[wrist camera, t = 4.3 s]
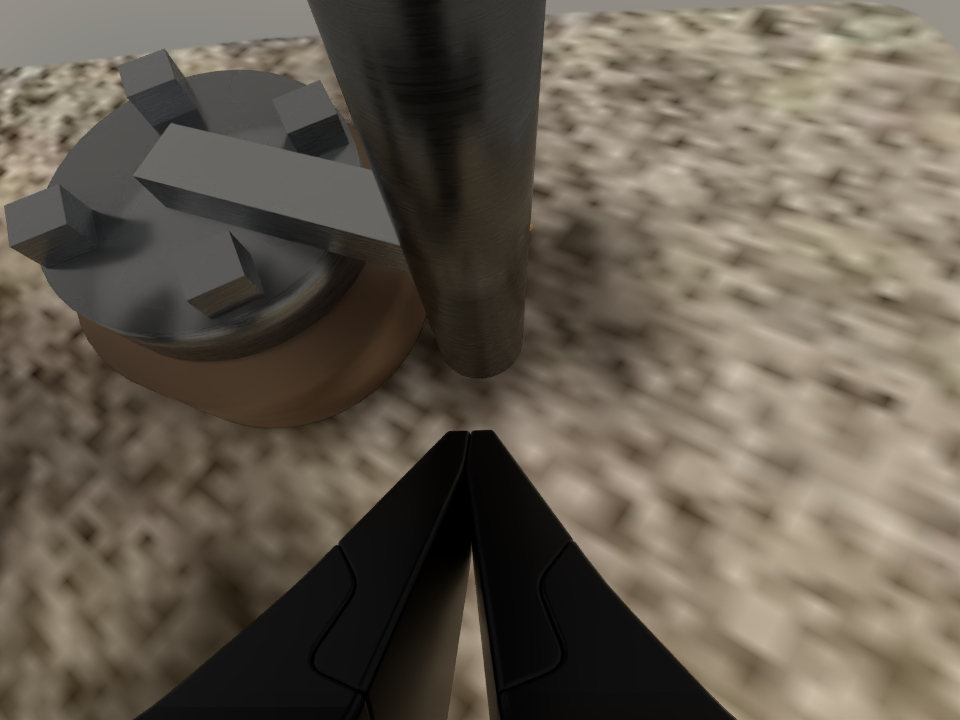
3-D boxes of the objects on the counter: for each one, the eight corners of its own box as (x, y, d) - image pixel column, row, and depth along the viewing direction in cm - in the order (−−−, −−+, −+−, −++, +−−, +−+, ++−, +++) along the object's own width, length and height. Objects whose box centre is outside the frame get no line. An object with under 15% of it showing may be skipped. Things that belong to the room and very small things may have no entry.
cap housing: (250, 492, 16) (172, 480, 12) (116, 289, 19) (22, 231, 16) (552, 246, 19) (563, 175, 15) (390, 104, 22) (366, 17, 18)
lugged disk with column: (123, 353, 17) (-1584, -442, 3) (240, 168, 20) (-388, -684, 6) (479, 474, 15) (6, -476, 1) (554, 245, 18) (728, -844, 4)
